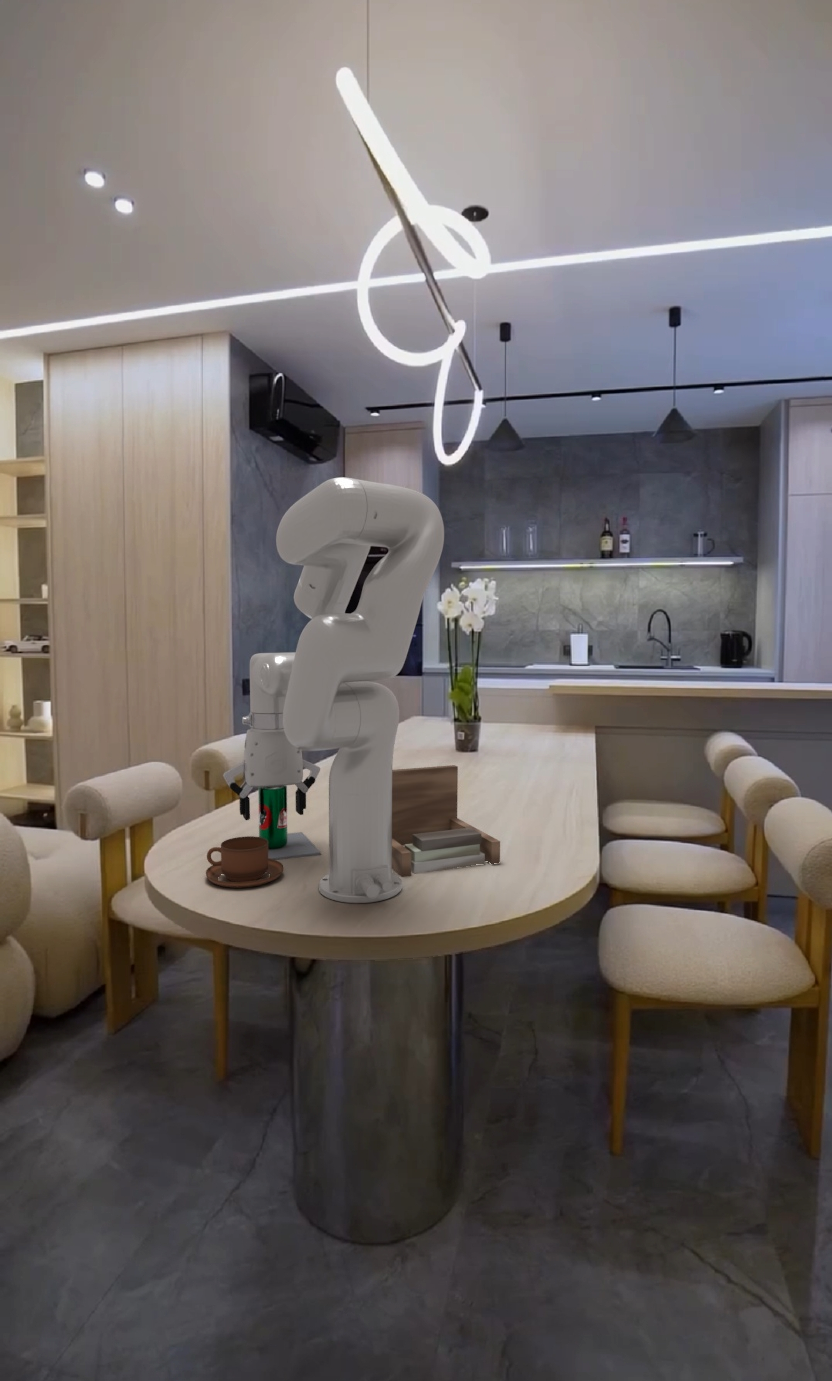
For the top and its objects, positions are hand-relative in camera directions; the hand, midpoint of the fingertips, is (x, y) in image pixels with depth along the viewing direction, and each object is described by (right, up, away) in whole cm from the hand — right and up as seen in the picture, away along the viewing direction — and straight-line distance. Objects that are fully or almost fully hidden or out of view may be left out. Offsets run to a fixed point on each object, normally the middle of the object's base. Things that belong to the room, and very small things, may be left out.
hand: (273, 815), depth 128 cm
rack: (+28, -7, -3) cm, 29 cm away
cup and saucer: (-1, -8, -15) cm, 17 cm away
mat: (0, -6, +1) cm, 6 cm away
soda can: (0, -6, +1) cm, 6 cm away
